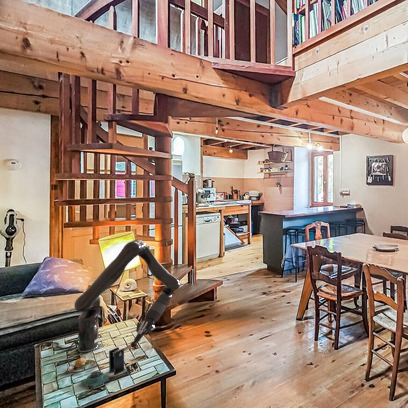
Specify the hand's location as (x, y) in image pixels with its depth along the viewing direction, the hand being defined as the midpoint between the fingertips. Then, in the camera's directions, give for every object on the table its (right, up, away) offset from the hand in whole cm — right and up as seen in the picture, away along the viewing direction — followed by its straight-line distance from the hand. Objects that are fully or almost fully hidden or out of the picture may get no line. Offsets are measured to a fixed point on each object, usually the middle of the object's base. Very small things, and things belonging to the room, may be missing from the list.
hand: (135, 341), depth 172 cm
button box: (-9, -13, -17) cm, 23 cm away
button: (-9, -10, -17) cm, 22 cm away
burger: (-26, -13, -5) cm, 29 cm away
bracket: (-4, -13, -9) cm, 16 cm away
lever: (-2, -3, -5) cm, 6 cm away
